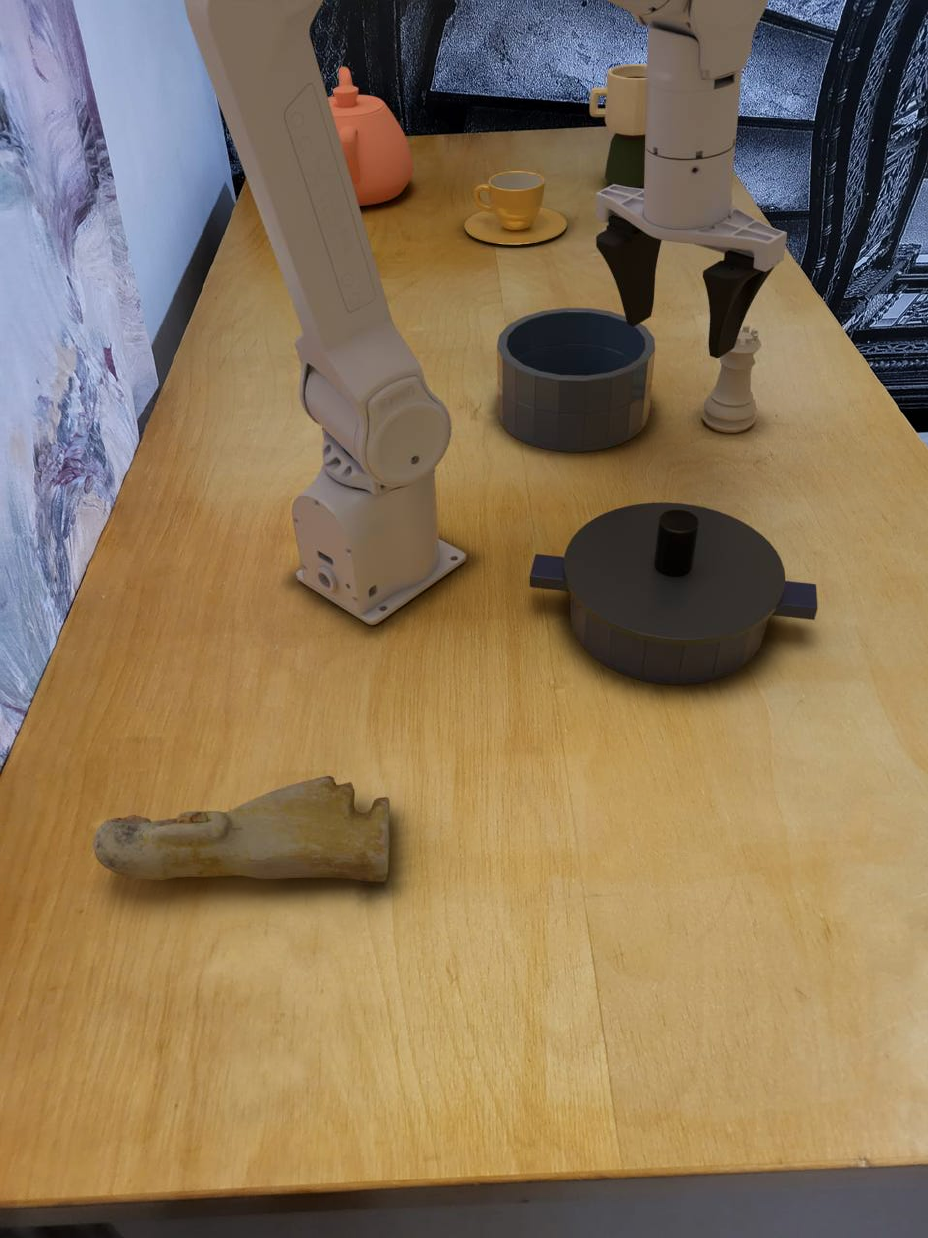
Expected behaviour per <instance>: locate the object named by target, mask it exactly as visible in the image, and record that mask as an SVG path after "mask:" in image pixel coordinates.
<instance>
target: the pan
mask: <svg viewBox="0 0 928 1238" xmlns="http://www.w3.org/2000/svg"><path fill="white" fill-rule="evenodd" d="M563 566H564V556H559V555H558V556H557V555H549V554H541V553H540V554H538V553H536V554H535V555H534V559H533V561H532V566H531V569H530V573H529V581H528V582H529V583H528V585H529V587H530V588H533V589H542V590H551V591H560V592H566V593H567V592H568V593H570V591H569V589H568V587H567V584H566V581H565V578H564V568H563ZM817 592H818V591H817V584H816V583H809V582H800V581H791V580H785V589H784V593H783V596H782V599H781V602H780V603H779V605H778V607H777V609H776V610H775V611H774V612H773V614H772V615H771V616H774V617H775V616H777V617H783V618H794V619H802V620H811V621H815V620H816V616H817V613H818V593H817ZM569 602H570V604H569V605H570V622H571V625H572V629H573V632H574V635H576V638H577V640H578V641H579V642H580V644H581V645H582V646H583V648H584V649H585V650H586V651H587V652H588V653H589V654H590V655H591V656H592V657H593V658H594V659H596V660H597V661H598V662H600V663H602V664H603V665H605V666H606V667H608V668H609V669H611V670H613V671H615V672H617V673H620V674H622V675H624V676H627V677H630V678H632V679H636V680H639V681H643V682H648V683H654V684H660V685H672V686H682V685H683V686H685V685H686V686H687V685H696V684H702V683H707V682H713V681H715V680H719V679H721V678H723V677H726V676H728V675H730V674H733V673H735V672H736V671H738V670H739V669H741V668H742V667H744V666H745V665H746V664H747V663H749V662H750V661H751V660H752V658H753V657H754V656H755V655H756V654H757V652H758V651H759V648H760V647H761V645H762V642H763V639H764V635H765V631H766V628H767V625H768V620H769V618H768V619H767V620H766V621H765V622H763V623H762V624H761V625H760V626H758V627H756V628H755V629H753V630H751V631H750V632H747V633H745V634H743V635H741V636H738V637H735V638H732V639H729V640H726V641H721V642H716V643H711V644H702V645H670V644H661V643H655V642H649V641H645V640H641V639H638V638H634V637H631V636H628V635H626V634H623V633H620V632H618V631H616V630H614V629H612V628H609V627H607V626H606V625H604V624H602V623H601V622H599V621H598V620H596V619H595V618H593V617H592V616H591V615H590V614H588V613H587V612H586V611H585V610H584V609H583V608H582V607H581V606H580V605H579V604H578V603H577V602H576V600H575V599H574V598H573V596H572V595H571V594H570V599H569Z"/></svg>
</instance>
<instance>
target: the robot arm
mask: <svg viewBox="0 0 928 1238" xmlns="http://www.w3.org/2000/svg"><path fill="white" fill-rule="evenodd" d="M606 1H607V2H609V3H611V4H612V5H615V6H617V7H620V8H622V9H624V10H626V11H628V12H630V14H631V15H632V17H633V19H634V20H635V22H636V23H637V24H638V25H639V26H641V27H644V26H647V25H649V26H648V27H647V57H646V59H647V60H646V64H647V96H646V135H645V173H644V186H643V188H639V187H636V188H630V187H624V186H620V185H615V184H611V185H609V186H607V187H606V188H604V189H602V190H599V191H598V192H596V193H595V219H596V220H597V221H599V222H603V223H608V224H607V225H606V226H605V227H606V229H605V230H603V231H602V232H599V233H598V234H597V235H596V236H595V247H596V248H597V251H598V252H599V253H600V254H601V256H602V257H603V259H604V260H605V262H606V264H607V266H608V268H609V270H610V272H611V275H612V277H613V279H614V282H615V285H616V288H617V290H618V294H619V297H620V300H621V304H622V308H623V313H624V316H625V317H626V320H627V324H628V325H630V326H633V327H634V326H636V325H638V324H639V323H640V324H642V323H643V322H644V321H646V320H648V319H649V318H651V317H652V313H653V308H654V304H655V290H656V288H655V287H656V272H657V265H658V259H659V254H660V250H661V245H662V241H665V242H672V243H682V244H689V245H694V246H698V247H702V248H705V249H708V250H712V251H715V252H718V253H721V254H723V259H722V260H719V261H717V262H715V263H714V264H712V265H711V266H709V267H706V269H703V271H702V279H703V283H704V285H705V288H706V293H707V299H708V309H709V330H708V353H709V356H710V357H712V358H714V359H720V358H721V357H722V356H723V355H725V354H726V353H728V352H729V351H731V350H732V349H733V348H734V347H735V344H736V340H737V337H738V334H739V332H740V330H741V328H742V327H743V325H744V324H743V323H744V322H745V318H746V317H747V314H748V312H749V309H750V307H751V305H752V303H753V302H754V300H755V299H756V296H757V294H758V292H759V291H760V290H761V288H762V286H763V284H764V283H765V281H766V280H767V279H768V277H769V276H770V274H771V273H772V271H773V270H774V269H775V268H776V266H778V265H779V264H780V263H782V262H783V261H785V253H786V244H787V237H788V232H786V231H784V230H780V229H777V228H775V227H773V226H770V225H768V224H766V223H764V222H762V220H761V221H760V220H759V219H757V218H755V217H754V216H753V215H751V214H748V213H747V212H745V211H744V210H742V209H740V208H738V207H736V206H735V205H733V195H732V190H733V180H734V179H733V177H734V167H735V165H734V164H735V154H736V141H737V133H738V132H737V130H738V120H739V110H740V109H739V108H740V97H741V87H742V86H741V85H742V74H743V69H744V68H745V67H746V66H747V62H748V58H750V57H751V56H752V46H753V38H754V34H755V30H756V27H757V25H758V23H759V21H760V19H761V18H762V16H763V14H764V12H765V10H766V8H767V5H768V4H769V3H768V2H769V0H606ZM183 2H184V7H185V11H186V17H187V20H188V23H189V25H190V28H191V31H192V34H193V36H194V39H195V42H196V44H197V47H198V50H199V52H200V55H201V59H202V61H203V63H204V66H205V69H206V72H207V75H208V77H209V79H210V83H211V85H212V88H213V91H214V94H215V96H216V100H217V102H218V104H219V107H220V110H221V112H222V115H223V118H224V121H225V123H226V126H227V129H228V132H229V135H230V137H231V141H232V143H233V145H234V148H235V150H236V153H237V156H238V159H239V162H240V164H241V167H242V169H243V172H244V176H245V178H246V181H247V184H248V186H249V189H250V192H251V194H252V197H253V199H254V203H255V205H256V208H257V211H258V213H259V216H260V219H261V221H262V225H263V227H264V229H265V232H266V235H267V238H268V241H269V244H270V246H271V249H272V251H273V254H274V257H275V259H276V260H275V261H276V262H277V265H278V268H279V270H280V271H279V272H280V273H281V276H282V279H283V281H284V284H285V286H286V290H287V292H288V296H289V297H290V300H291V302H292V307H293V309H294V311H295V314H296V317H297V319H298V322H299V325H300V328H301V330H302V332H301V333H300V334H299V335H298V337H297V338H296V339H295V341H294V347H295V349H296V352H297V355H298V358H299V362H300V378H299V379H300V380H299V384H298V385H299V386H298V388H299V389H298V392H299V393H298V394H299V400H300V403H301V406H302V408H303V410H304V412H305V413H306V415H307V416H308V417H309V418H310V419H311V420H312V421H313V422H314V423H315V424H318V425H319V426H320V427H322V428H321V431H322V438H323V441H322V449H321V455H322V465H321V468H320V470H319V472H318V474H317V475H316V477H315V478H314V480H313V482H312V483H311V484H309V486H308V487H307V488H306V489H305V490H303V491H302V492H301V493H300V494H299V495H297V497H296V498H295V499H294V501H293V502H292V503H293V504H292V508H291V517H292V523H293V524H292V525H293V528H294V535H295V539H296V540H295V541H296V546H297V550H298V551H297V552H298V556H299V563H300V569H299V570H298V571H297V572H296V573H295V575H296V579H297V580H298V581H299V582H301V583H302V584H304V585H306V586H307V587H309V588H310V589H312V590H313V591H315V592H316V593H318V594H320V595H321V596H323V597H324V598H326V599H327V600H329V601H330V602H333V604H335V605H337V606H339V607H340V608H342V609H344V610H345V611H346V612H348V613H350V614H351V615H353V616H355V617H356V618H358V619H360V620H361V621H363V622H364V623H365V624H368V625H370V626H372V625H373V626H374V625H377V624H379V623H381V622H382V621H383V620H385V619H386V618H387V617H389V616H390V615H391V614H393V613H394V612H396V611H397V610H398V609H400V608H401V607H403V606H404V605H406V604H407V603H408V602H410V601H411V600H413V599H414V598H415V597H417V596H418V595H419V594H421V593H422V592H424V591H425V590H427V589H428V588H430V587H431V586H432V585H434V584H435V583H437V582H438V581H439V580H441V579H442V578H444V577H445V576H446V575H448V574H449V573H451V572H452V571H453V570H455V569H456V568H458V567H459V566H460V565H462V564H464V563H465V562H466V561H467V554H466V553H465V552H464V551H462V550H460V549H459V548H457V547H455V546H453V545H451V544H450V543H447V542H445V541H444V540H442V539H440V535H439V534H440V533H439V519H438V505H437V504H438V503H437V502H438V501H437V489H436V487H437V485H436V467H437V466H438V465H439V463H440V462H441V460H442V459H443V458H444V456H445V454H446V452H447V450H448V448H449V445H450V441H451V438H452V428H453V426H452V425H453V424H452V418H451V415H450V411H449V410H448V408H447V406H446V405H445V403H444V402H443V401H442V400H441V399H440V398H439V397H438V396H436V395H435V394H434V393H433V392H432V391H431V390H430V388H429V386H428V384H427V382H426V379H425V374H424V371H423V368H422V367H421V364H420V363H419V361H418V359H417V358H416V356H415V354H414V353H413V352H412V349H411V348H410V347H409V345H408V344H407V342H406V341H405V339H404V338H403V336H402V334H401V333H400V331H399V329H398V328H397V326H396V325H395V323H394V321H393V317H392V314H391V311H390V308H389V304H388V301H387V297H386V293H385V290H384V287H383V283H382V281H381V276H380V274H379V270H378V266H377V263H376V259H375V256H374V253H373V249H372V246H371V243H370V239H369V238H370V237H369V235H368V232H367V229H366V225H365V222H364V221H365V220H364V218H363V215H362V211H361V208H360V207H361V206H359V204H358V201H357V197H356V194H355V190H354V187H353V183H352V180H351V176H350V173H349V170H348V166H347V163H346V159H345V156H344V152H343V149H342V145H341V142H340V138H339V135H338V132H337V128H336V125H335V121H334V118H333V114H332V111H331V107H330V104H329V101H328V97H329V96H328V94H327V90H326V87H325V83H324V80H323V76H322V73H321V70H320V67H319V64H318V60H317V56H316V52H315V49H314V47H313V46H314V45H313V43H312V39H311V33H310V29H311V26H312V23H313V21H314V19H315V17H316V15H317V14H318V11H319V9H320V8H321V6H322V5H323V2H324V0H183Z"/></svg>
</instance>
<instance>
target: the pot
mask: <svg viewBox="0 0 928 1238" xmlns="http://www.w3.org/2000/svg"><path fill="white" fill-rule="evenodd" d="M655 357H656V338H655V337H654V335H653V334H652V333H651V332H650V330H649V329H648V328H647V326H646V325H643V324H642V323H639V324H638V325H636V326H634V327H633V326H630V325H628V324H627V320H626V317H625V315H623V314H619V313H617V312H614V311H611V310H603V309H599V308H591V307H590V308H589V307H563V308H554V309H545V310H541V311H537V312H534V313H531V314H527V315H523V316H522V317H520V318H518V319H517V320H515V321H513V322H510V323H509V324H508V325H507V326H506V327H504V329H503V330H502V331H501V332H500V334H498V337H497V343H496V380H497V381H496V383H497V384H496V385H497V386H496V387H497V412H498V418H499V422H500V423H501V425H502V427H503V428H504V430H506V432H508V433H509V434H510V435H511V436H513V437H514V438H516V439H517V440H520V441H521V442H523V443H526V444H528V445H531V446H534V447H537V448H540V449H543V450H549V451H554V452H555V451H556V452H563V453H564V452H565V453H566V452H567V453H583V452H584V453H585V452H594V451H600V450H606V449H610V448H613V447H616V446H619V445H621V444H623V443H625V442H628V441H629V440H631V439H633V438H635V437H636V436H637V435H638V434H639V433H640V432H641V431H642V430H643V429H644V428H645V426H646V424H647V421H648V417H649V415H650V405H651V396H652V388H653V378H654V377H653V376H654V367H655Z"/></svg>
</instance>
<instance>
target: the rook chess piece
mask: <svg viewBox="0 0 928 1238" xmlns="http://www.w3.org/2000/svg"><path fill="white" fill-rule="evenodd" d="M750 327H751V326H750V325H746V324H745V325H744V324H742V330H741V329H740V332H739V334H738V337H737V340H736V344H735V347H734V348H733V349H732V350H731V351H729V352H728V353H726V354H725V355H723V356H722V357H720V358H719V363H720V370H719V373H718V376H717V382H716V384H715V386H714V387H713V388H712V390H711V391H710V393H709V394H708V396H707V397H706V398H705V400H704V402H703V410H702V411H701V418H702V420H703V421H704V423H705V424H706V425H707V426H708V427H709V428H710V429H712V430H714V431H717V432H720V433H726V434H727V433H729V434H736V433H741V432H744V431H745V430H747V429H749V428H750V427H752V425H754V423H755V421H756V420H757V417H756V414H755V413H756V412H757V404H756V403H757V402H756V400H755V399H754V393H753V392H752V391H751V390H752V389H751V387H752V386H751V385H752V383H751V381H752V380H751V379H752V370H753V367H754V366H755V365H756V359H755V358H754V355H755V354H756V353H757V352H759V350H760V349H761V347H762V342H761V340H760V339H759V333H758V332H759V330H757V329H756V328H751V331H750Z"/></svg>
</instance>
